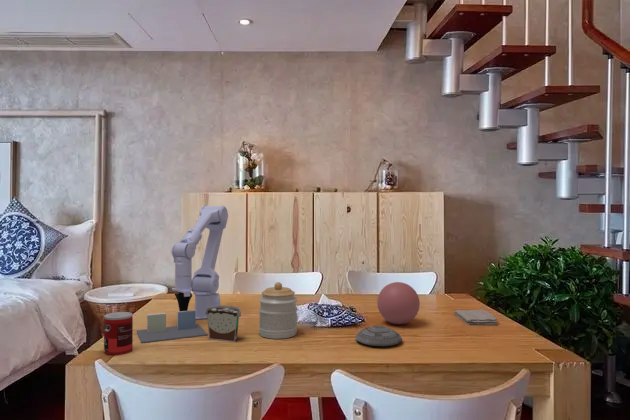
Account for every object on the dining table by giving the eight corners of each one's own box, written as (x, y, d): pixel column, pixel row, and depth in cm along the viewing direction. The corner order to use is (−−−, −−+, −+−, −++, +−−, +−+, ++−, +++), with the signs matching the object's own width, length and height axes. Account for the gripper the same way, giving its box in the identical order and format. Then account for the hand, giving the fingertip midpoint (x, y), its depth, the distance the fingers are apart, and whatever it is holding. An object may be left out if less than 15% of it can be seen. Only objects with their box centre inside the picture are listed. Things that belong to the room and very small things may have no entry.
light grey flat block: (194, 326, 167) (194, 310, 167) (195, 327, 166) (195, 310, 166) (177, 328, 165) (177, 311, 165) (178, 329, 163) (178, 312, 163)
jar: (267, 341, 151) (267, 286, 151) (253, 331, 163) (253, 280, 163) (303, 336, 157) (303, 283, 157) (287, 327, 169) (287, 278, 169)
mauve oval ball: (408, 315, 188) (408, 276, 187) (425, 328, 168) (425, 285, 168) (370, 316, 186) (370, 277, 186) (383, 329, 166) (383, 286, 166)
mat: (197, 324, 172) (197, 323, 172) (207, 335, 158) (207, 334, 158) (136, 331, 162) (136, 330, 162) (141, 343, 149) (141, 342, 149)
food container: (247, 337, 156) (247, 307, 156) (238, 342, 151) (238, 311, 150) (215, 333, 160) (215, 304, 160) (205, 338, 155) (205, 308, 154)
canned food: (109, 347, 144) (109, 311, 144) (136, 347, 145) (135, 311, 145) (99, 355, 137) (99, 318, 137) (128, 355, 137) (128, 317, 137)
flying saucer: (391, 352, 142) (391, 334, 141) (347, 344, 150) (347, 327, 149) (409, 340, 154) (409, 323, 154) (367, 333, 162) (367, 317, 162)
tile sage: (165, 330, 163) (165, 312, 163) (166, 331, 162) (166, 313, 162) (147, 332, 160) (147, 314, 160) (147, 333, 159) (147, 315, 159)
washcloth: (468, 327, 172) (468, 318, 172) (452, 315, 190) (452, 307, 190) (500, 327, 173) (500, 318, 173) (481, 315, 191) (482, 307, 191)
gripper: (168, 273, 175) (168, 310, 175) (175, 279, 162) (175, 318, 162) (188, 272, 178) (188, 308, 178) (196, 277, 165) (196, 316, 165)
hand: (183, 313), depth 170 cm, fingers closed
